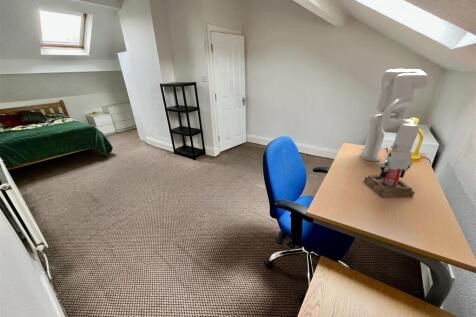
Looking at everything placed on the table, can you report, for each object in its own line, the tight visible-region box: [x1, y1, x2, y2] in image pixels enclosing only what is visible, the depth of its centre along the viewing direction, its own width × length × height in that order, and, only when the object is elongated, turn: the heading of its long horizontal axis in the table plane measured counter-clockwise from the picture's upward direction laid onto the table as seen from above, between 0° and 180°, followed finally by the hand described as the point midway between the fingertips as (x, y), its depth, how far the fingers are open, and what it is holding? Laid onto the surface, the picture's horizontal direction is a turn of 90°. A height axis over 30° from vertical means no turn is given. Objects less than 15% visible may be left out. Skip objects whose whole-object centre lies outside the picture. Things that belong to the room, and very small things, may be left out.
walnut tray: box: [363, 174, 415, 199], centre depth 110 cm, size 16×16×4 cm
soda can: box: [382, 167, 403, 186], centre depth 107 cm, size 7×7×12 cm
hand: (391, 176), depth 107 cm, fingers open, 9 cm apart
